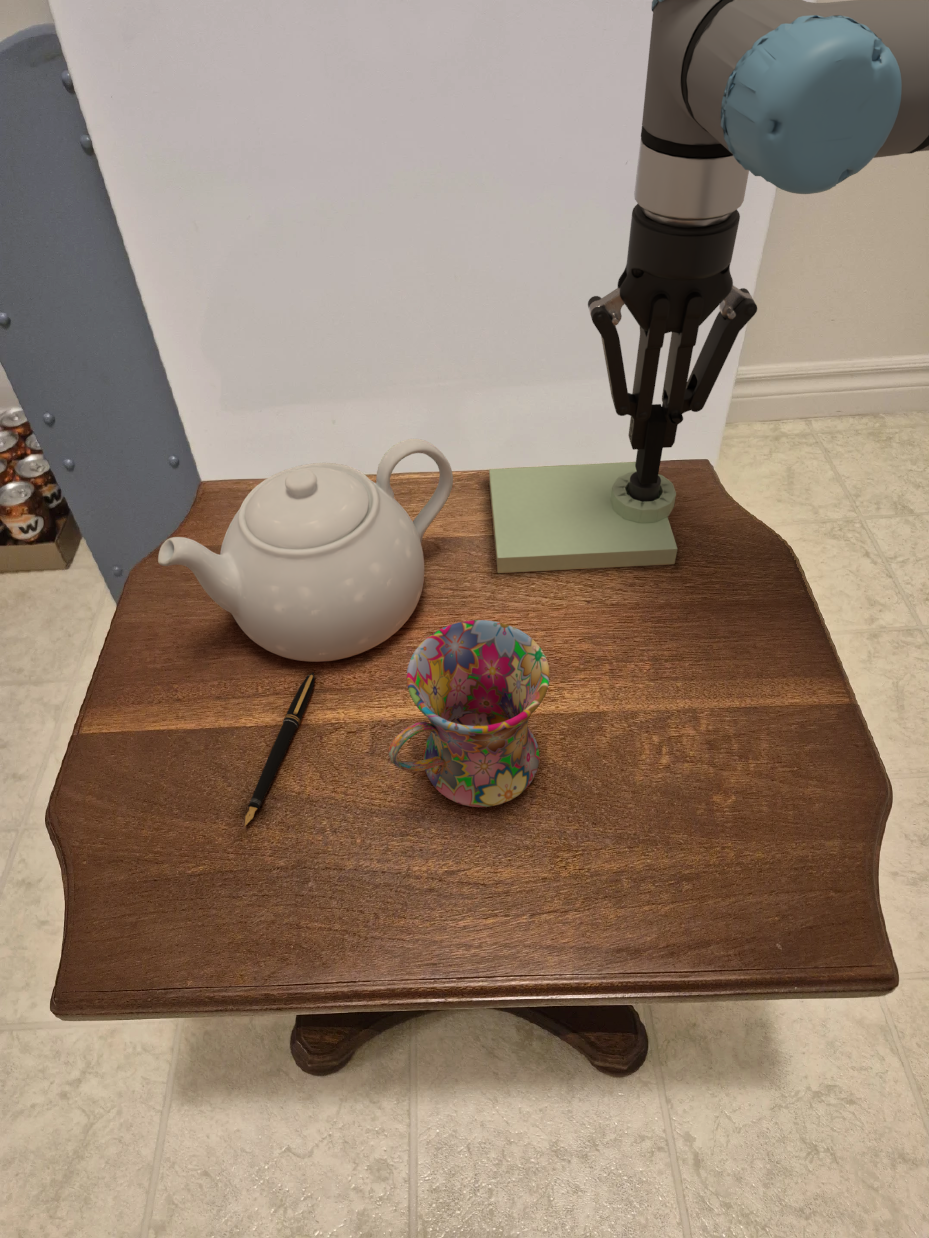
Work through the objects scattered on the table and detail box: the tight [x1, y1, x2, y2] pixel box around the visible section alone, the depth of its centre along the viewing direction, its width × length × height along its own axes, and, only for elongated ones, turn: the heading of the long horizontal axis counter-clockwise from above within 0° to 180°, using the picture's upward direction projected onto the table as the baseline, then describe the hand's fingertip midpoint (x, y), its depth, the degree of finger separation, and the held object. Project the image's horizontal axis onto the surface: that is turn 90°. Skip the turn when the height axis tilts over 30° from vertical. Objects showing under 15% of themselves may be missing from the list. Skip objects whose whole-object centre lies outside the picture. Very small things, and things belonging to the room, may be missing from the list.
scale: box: [488, 461, 678, 574], centre depth 79 cm, size 17×13×4 cm
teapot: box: [157, 438, 454, 663], centre depth 70 cm, size 19×18×14 cm
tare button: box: [628, 472, 661, 502], centre depth 78 cm, size 3×3×2 cm
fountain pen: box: [243, 671, 316, 829], centre depth 63 cm, size 14×1×2 cm, turn 167°
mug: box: [388, 619, 551, 808], centre depth 58 cm, size 12×9×11 cm
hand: (645, 474), depth 77 cm, fingers closed
